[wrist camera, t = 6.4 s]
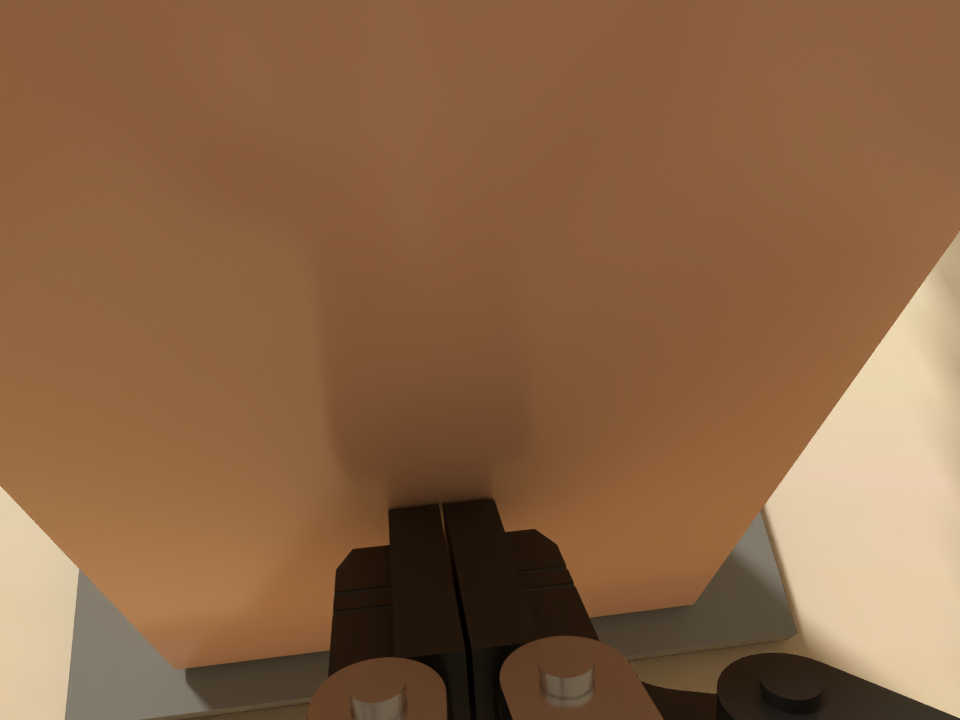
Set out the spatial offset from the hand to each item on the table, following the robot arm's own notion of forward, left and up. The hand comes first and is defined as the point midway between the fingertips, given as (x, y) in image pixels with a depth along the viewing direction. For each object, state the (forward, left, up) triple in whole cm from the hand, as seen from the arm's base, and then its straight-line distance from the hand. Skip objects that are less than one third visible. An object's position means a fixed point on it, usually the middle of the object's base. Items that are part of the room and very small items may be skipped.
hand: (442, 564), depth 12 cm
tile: (0, +1, -5) cm, 5 cm away
